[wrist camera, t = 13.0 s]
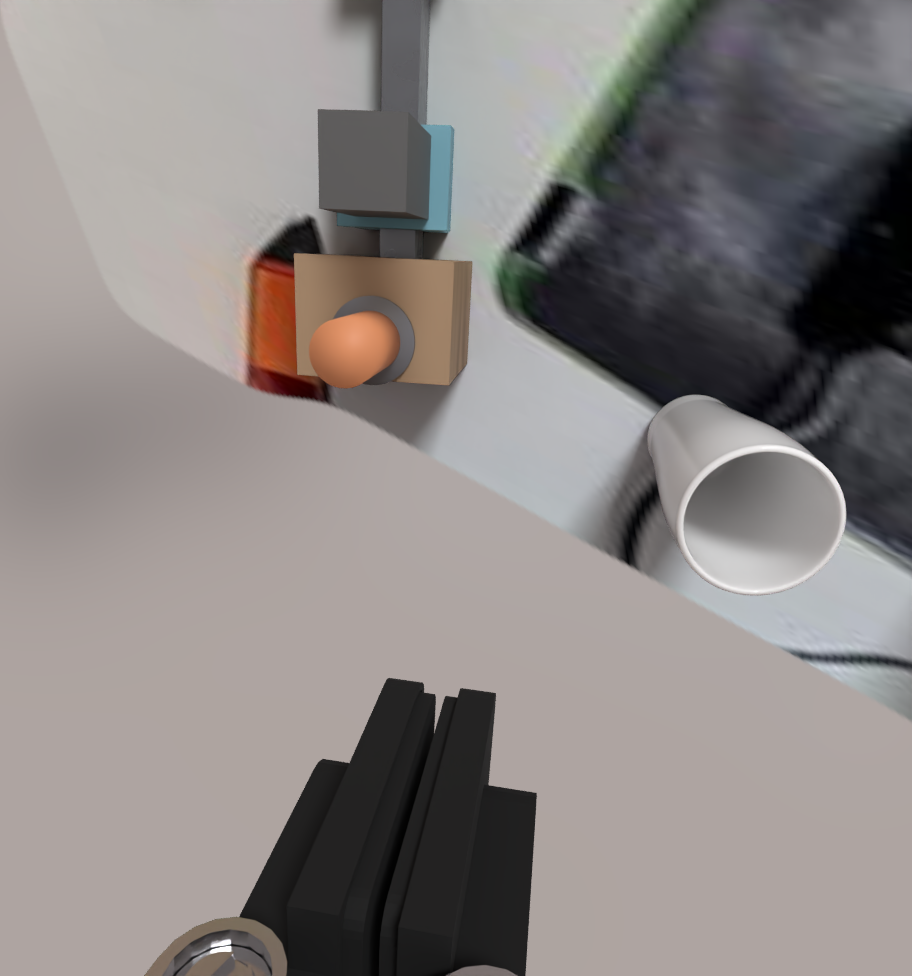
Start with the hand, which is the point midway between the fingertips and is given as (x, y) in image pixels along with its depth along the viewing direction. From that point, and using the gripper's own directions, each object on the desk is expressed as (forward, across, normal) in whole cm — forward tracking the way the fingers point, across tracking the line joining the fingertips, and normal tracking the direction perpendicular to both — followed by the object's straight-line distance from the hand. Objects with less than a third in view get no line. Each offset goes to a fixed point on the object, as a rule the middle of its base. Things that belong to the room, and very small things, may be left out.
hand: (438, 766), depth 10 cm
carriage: (+34, +9, -11) cm, 37 cm away
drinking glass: (+34, -10, +2) cm, 36 cm away
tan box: (+34, +8, -4) cm, 35 cm away
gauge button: (+26, +8, -3) cm, 27 cm away
